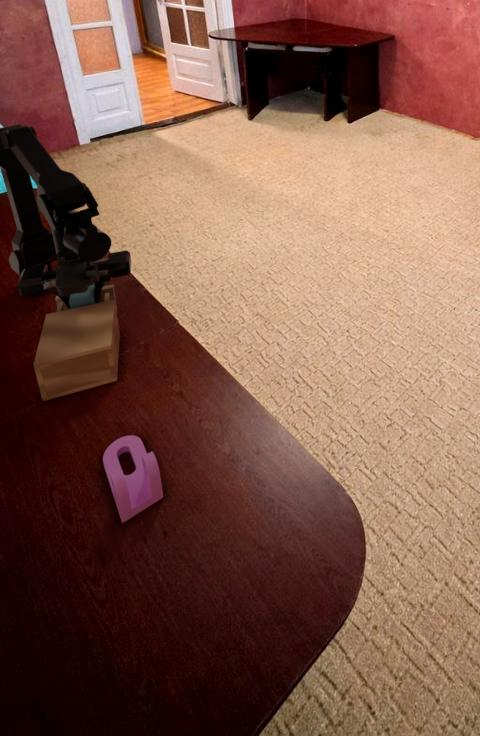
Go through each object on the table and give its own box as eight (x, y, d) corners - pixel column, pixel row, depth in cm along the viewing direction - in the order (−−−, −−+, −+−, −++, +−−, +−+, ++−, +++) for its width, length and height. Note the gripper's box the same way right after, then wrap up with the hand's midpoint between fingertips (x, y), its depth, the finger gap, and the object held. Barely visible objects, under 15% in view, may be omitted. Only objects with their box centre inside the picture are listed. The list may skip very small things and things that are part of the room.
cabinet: (54, 348, 97) (46, 314, 94) (119, 332, 102) (114, 299, 99) (42, 401, 86) (33, 364, 83) (117, 380, 91) (110, 345, 88)
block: (74, 305, 101) (71, 289, 100) (97, 300, 103) (94, 284, 102) (72, 318, 98) (68, 301, 97) (96, 313, 100) (93, 296, 98)
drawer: (64, 308, 107) (59, 282, 104) (118, 296, 111) (114, 272, 109) (52, 364, 93) (46, 336, 90) (114, 348, 97) (110, 321, 95)
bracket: (163, 497, 72) (158, 464, 70) (122, 523, 69) (115, 489, 66) (138, 435, 81) (132, 404, 79) (100, 455, 78) (93, 423, 75)
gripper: (3, 275, 84) (21, 345, 90) (124, 253, 92) (134, 318, 98) (16, 242, 93) (32, 307, 99) (126, 225, 102) (135, 286, 107)
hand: (84, 305), depth 100 cm, fingers closed on block, 4 cm apart
